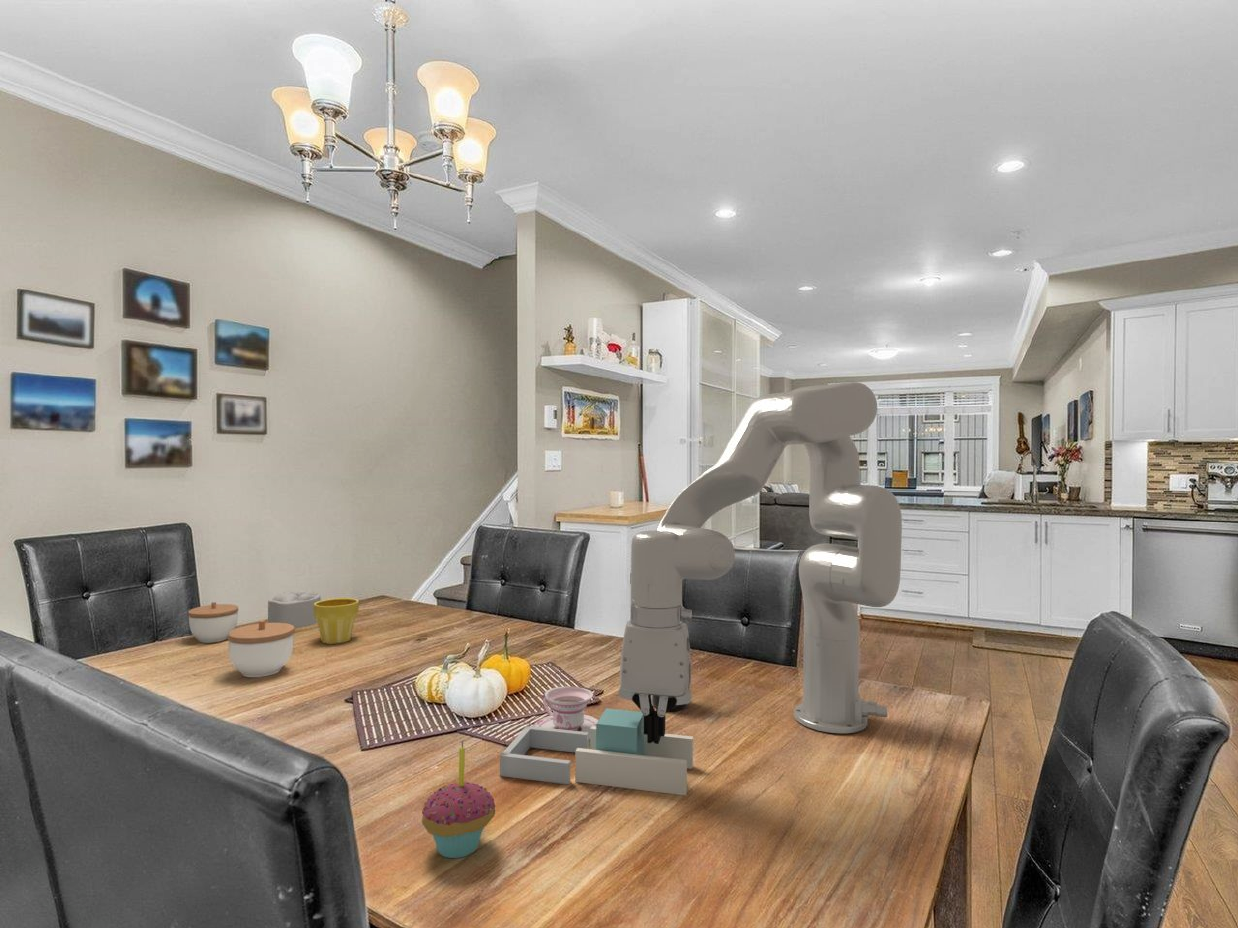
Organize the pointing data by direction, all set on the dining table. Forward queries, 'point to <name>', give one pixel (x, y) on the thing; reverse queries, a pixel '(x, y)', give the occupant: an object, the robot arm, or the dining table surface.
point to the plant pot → (336, 619)
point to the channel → (638, 765)
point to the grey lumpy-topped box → (293, 608)
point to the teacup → (567, 709)
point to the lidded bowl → (261, 648)
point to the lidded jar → (213, 622)
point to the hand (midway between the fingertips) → (654, 739)
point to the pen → (540, 767)
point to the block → (620, 732)
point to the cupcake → (458, 815)
